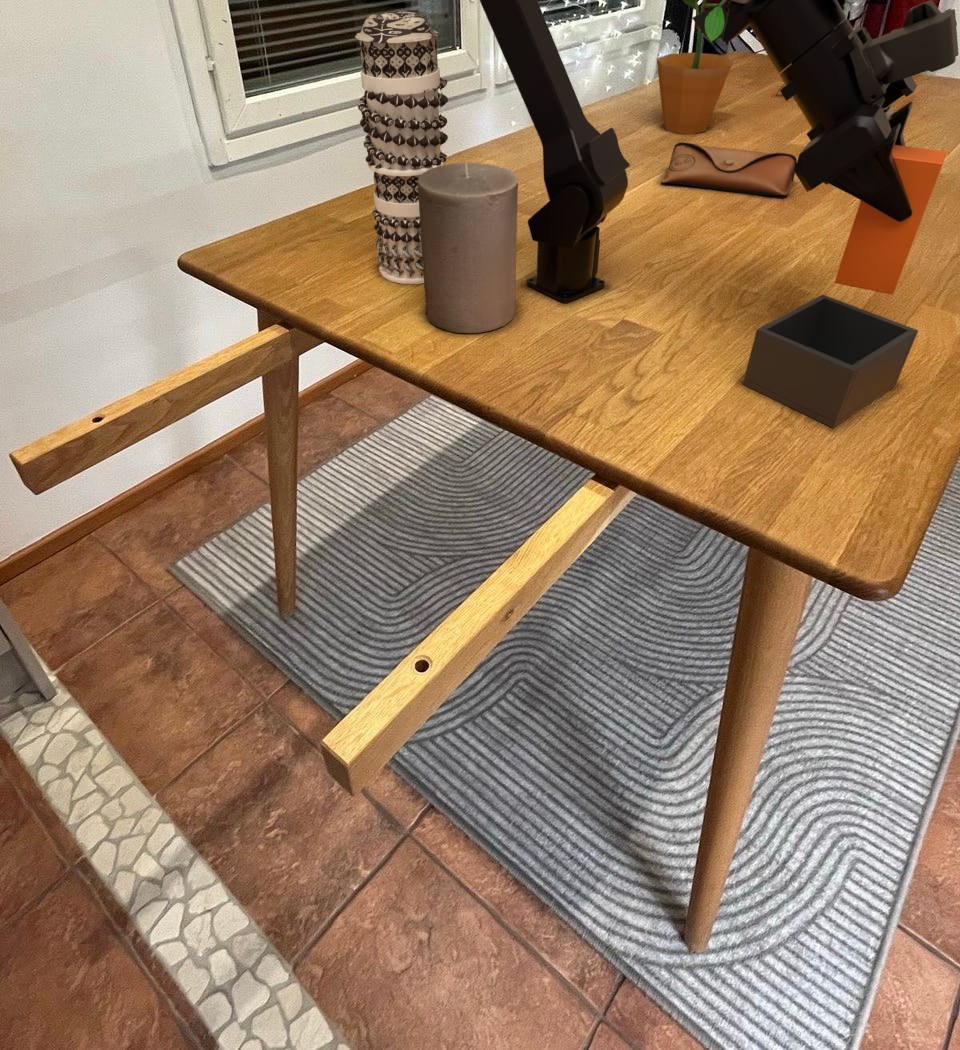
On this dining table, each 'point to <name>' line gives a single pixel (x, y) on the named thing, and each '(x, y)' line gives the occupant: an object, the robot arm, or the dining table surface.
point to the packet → (889, 226)
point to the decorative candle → (400, 131)
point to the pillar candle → (469, 245)
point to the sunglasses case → (731, 169)
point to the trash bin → (828, 359)
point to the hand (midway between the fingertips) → (909, 210)
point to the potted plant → (694, 75)
